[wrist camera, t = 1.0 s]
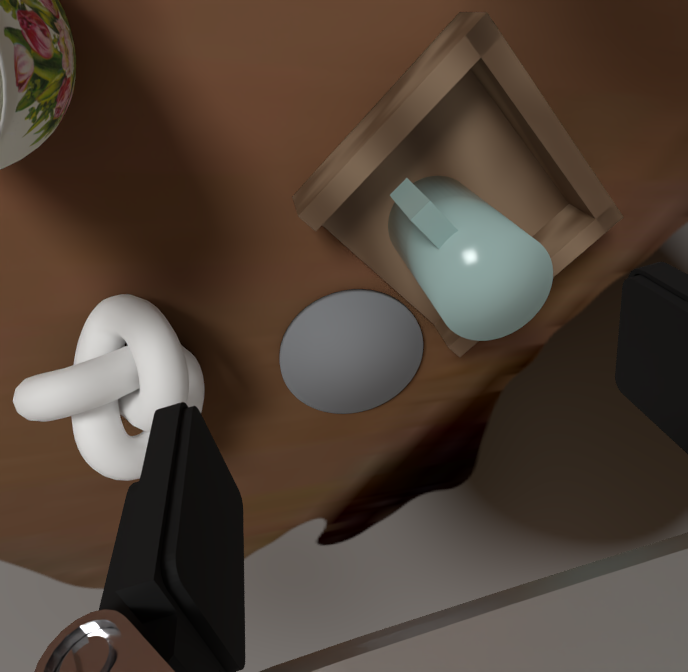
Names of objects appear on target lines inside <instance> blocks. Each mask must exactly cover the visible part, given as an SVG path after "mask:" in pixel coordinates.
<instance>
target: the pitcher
mask: <svg viewBox="0 0 688 672" xmlns="http://www.w3.org/2000/svg"><path fill="white" fill-rule="evenodd" d="M75 78H76V55H75V47H74V41H73V37H72V33H71V29H70V26H69V23H68V20H67V17H66V14H65V12H64V10H63V8H62V6H61V3H60V1H59V0H0V169H2V168H5V167H7V166H9V165H11V164H13V163H15V162H17V161H19V160H21V159H23V158H24V157H25V156H27V155H28V154H30V153H31V152H33V151H34V150H35V149H37V148H38V147H39V146H40V145H41V144H42V143H43V142H44V141H45V140H46V139H47V138H48V137H49V136H50V135H51V134H52V133H53V132H54V130H55V129H56V128H57V126H58V125H59V124H60V122H61V120H62V118H63V116H64V114H65V112H66V110H67V108H68V106H69V104H70V101H71V98H72V94H73V91H74V85H75Z"/></svg>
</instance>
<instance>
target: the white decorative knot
mask: <svg viewBox="0 0 688 672" xmlns="http://www.w3.org/2000/svg"><path fill="white" fill-rule="evenodd" d="M125 343H127V345H128V346H125ZM124 346H125V347H124ZM203 401H204V379H203V374H202V371H201V367H200V365H199V363H198V361H197V359H196V358H195V357H194V356H193V354H192V353H191V352H189V351H188V350H187V349H185V348H184V347H183V346H182V345H181V343H180V341H179V339H178V337H177V335H176V333H175V331H174V330H173V328H172V326H171V325H170V323H169V322H168V320H167V319H166V317H165V316H164V315H163V314H162V313H161V311H160V310H159V309H158V308H157V307H156V306H155V305H153V304H152V303H150V302H149V301H148V300H145V299H142V298H139V297H136V296H133V295H130V294H120V295H116V296H112V297H109V298H107V299H104V300H103V301H102V302H100V303H99V304H98V305H97V306H96V307H95V308H94V310H93V311H92V312H91V314H90V315H89V317H88V319H87V320H86V322H85V325H84V327H83V329H82V332H81V334H80V337H79V341H78V344H77V348H76V353H75V359H74V365H73V366H70V367H67V368H63V369H59V370H55V371H51V372H46V373H42V374H38V375H35V376H32V377H29V378H27V379H25V380H24V381H23V382H22V383H21V384H20V385H19V386H18V387H17V388H16V389H15V393H14V398H13V403H14V405H15V408H16V410H17V412H18V413H19V414H20V415H22V416H23V417H25V418H26V419H28V420H32V421H52V420H57V419H61V418H65V417H69V416H71V417H72V425H73V433H74V437H75V441H76V444H77V447H78V449H79V451H80V453H81V455H82V456H83V458H84V459H85V461H86V462H87V463H88V464H89V465H90V466H91V467H92V468H93V469H94V470H95V471H97V472H99V473H100V474H102V475H103V476H106V477H109V478H112V479H115V480H134V479H139V478H140V476H141V472H142V467H143V462H144V458H145V453H146V449H147V444H148V439H149V435H150V430H151V426H152V421H153V417H154V413H155V411H156V410H157V409H160V408H164V407H167V406H170V405H174V404H177V403H181V402H185V403H186V404H187V406H188V407H192V406H196V407H197V408H198V409H199V411H200V413H201V412H202V407H203ZM120 414H121V415H122V416H123V417H125V418H126V419H127V420H128V421H129V422H130V423H131V424H132V425H133V426H135V427H137V428H139V429H141V430H143V432H142V433H141V434H139V435H136V436H129V435H128V434H127V433H126V431H125V429H124V427H123V425H122V421H121V418H120Z"/></svg>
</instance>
